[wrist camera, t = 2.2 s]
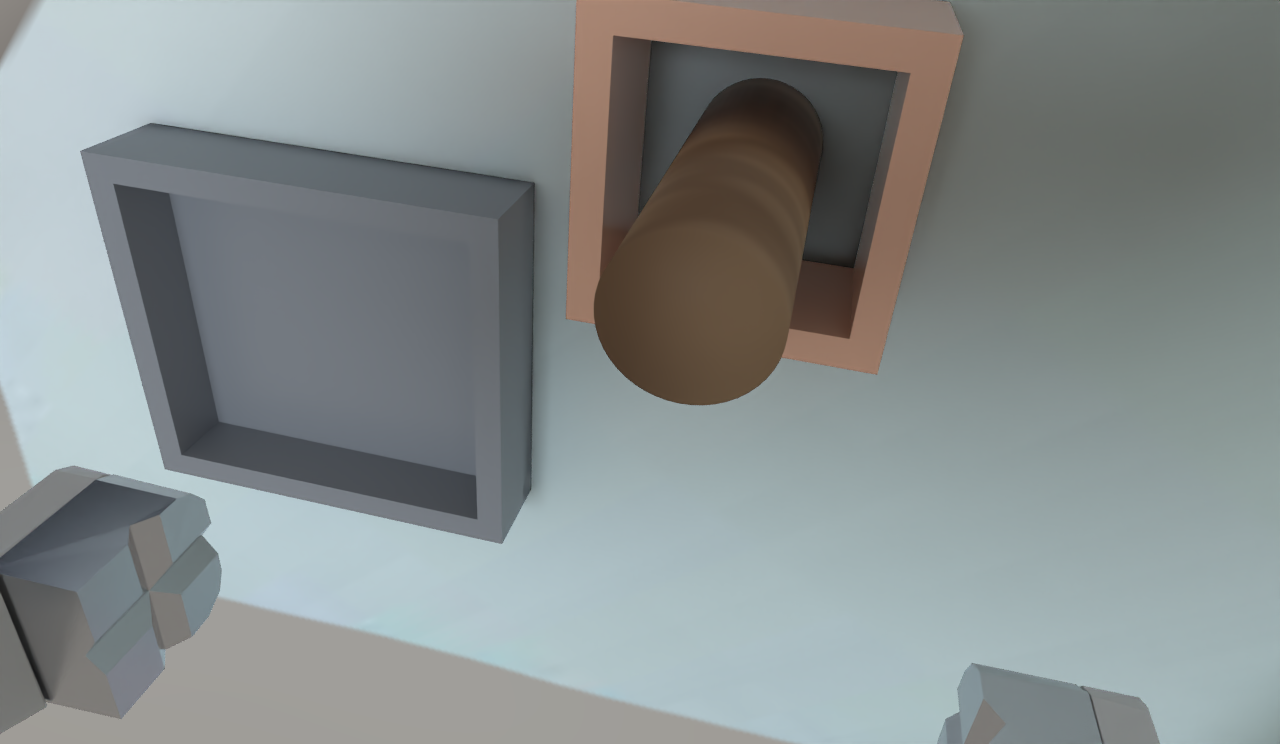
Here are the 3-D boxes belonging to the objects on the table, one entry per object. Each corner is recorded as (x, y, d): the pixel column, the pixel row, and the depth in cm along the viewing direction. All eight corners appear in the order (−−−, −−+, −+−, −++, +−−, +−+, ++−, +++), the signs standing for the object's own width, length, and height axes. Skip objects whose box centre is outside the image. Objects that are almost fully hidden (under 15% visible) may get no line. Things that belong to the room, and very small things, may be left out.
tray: (534, 182, 25) (497, 219, 22) (530, 489, 31) (502, 543, 28) (150, 123, 27) (80, 151, 24) (216, 423, 32) (164, 469, 30)
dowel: (833, 87, 22) (804, 247, 13) (810, 211, 23) (772, 421, 15) (704, 70, 22) (598, 214, 14) (691, 192, 24) (589, 385, 16)
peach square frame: (949, 1, 20) (963, 35, 17) (877, 300, 24) (877, 374, 21) (624, -36, 21) (576, -12, 18) (606, 254, 25) (565, 318, 22)
